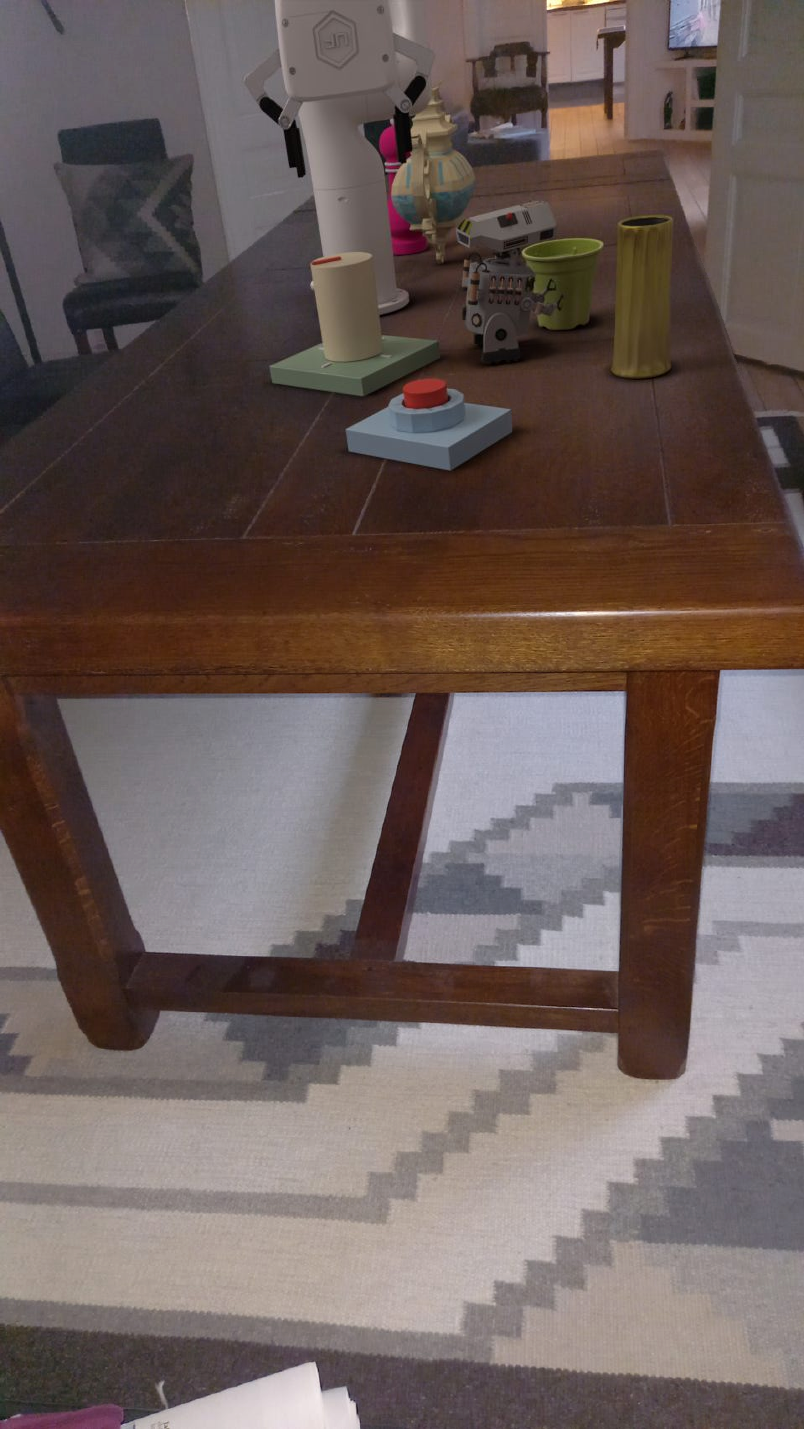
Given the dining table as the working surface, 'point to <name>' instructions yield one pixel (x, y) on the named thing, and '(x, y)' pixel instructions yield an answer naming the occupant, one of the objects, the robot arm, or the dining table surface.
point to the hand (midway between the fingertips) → (352, 169)
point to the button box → (430, 432)
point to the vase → (643, 297)
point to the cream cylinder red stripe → (347, 306)
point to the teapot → (433, 178)
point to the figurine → (504, 277)
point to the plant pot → (565, 278)
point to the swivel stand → (355, 367)
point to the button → (425, 393)
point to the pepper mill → (400, 229)
